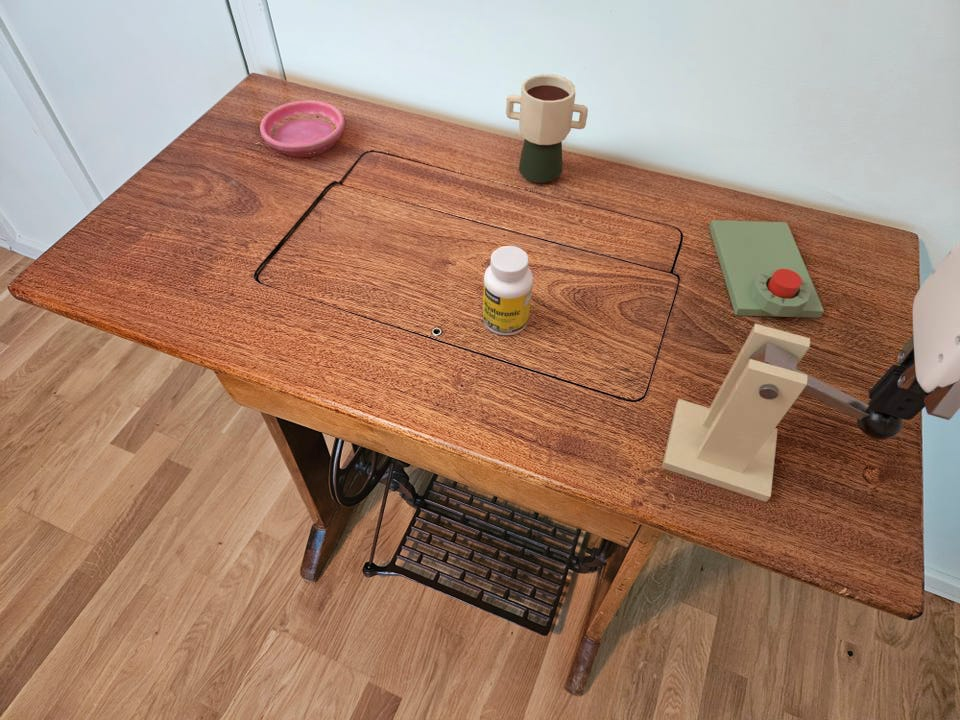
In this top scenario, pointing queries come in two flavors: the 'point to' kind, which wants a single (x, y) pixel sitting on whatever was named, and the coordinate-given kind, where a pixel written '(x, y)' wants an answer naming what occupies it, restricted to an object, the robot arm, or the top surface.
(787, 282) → the button
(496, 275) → the supplement bottle
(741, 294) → the button box
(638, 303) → the top surface
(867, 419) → the lever
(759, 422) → the switch bracket
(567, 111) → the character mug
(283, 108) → the saucer
